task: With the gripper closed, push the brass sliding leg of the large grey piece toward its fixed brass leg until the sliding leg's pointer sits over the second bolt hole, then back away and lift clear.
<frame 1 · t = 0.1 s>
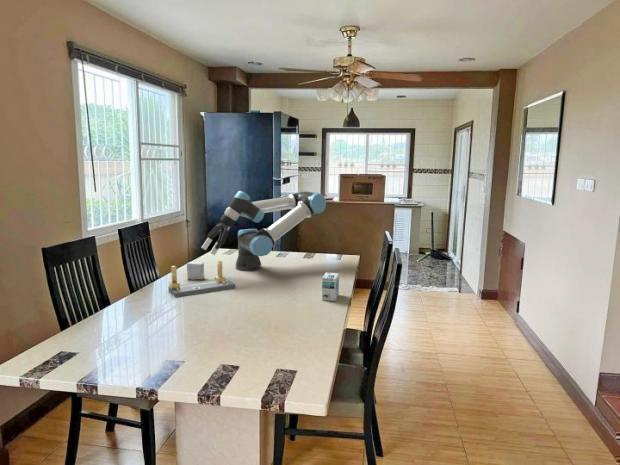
hand: (207, 251, 232), 15 cm above the table, tool tilted 35°, fingers open, 13 cm apart
light bulb box: (330, 297, 208), on the table
sliding leg: (175, 277, 210), point 8 cm above the table, slide at 9.0 cm
grey piece: (202, 289, 218), on the table
medicine box: (196, 279, 237), on the table
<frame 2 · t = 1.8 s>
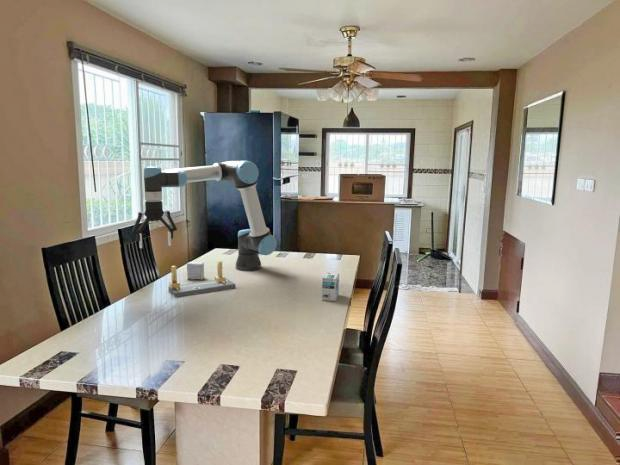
hand: (155, 246, 205), 23 cm above the table, tool pointing down, fingers open, 12 cm apart
nothing on the table moved.
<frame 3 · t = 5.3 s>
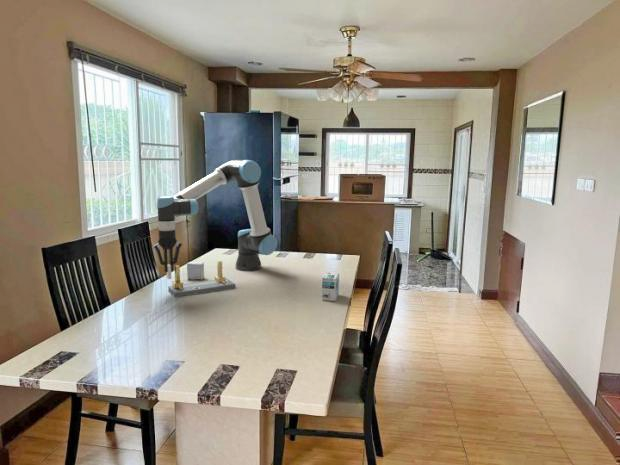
hand: (169, 278, 211), 7 cm above the table, tool pointing down, fingers closed
sliding leg: (178, 277, 211), point 8 cm above the table, slide at 7.4 cm, touching gripper
everything else where it was.
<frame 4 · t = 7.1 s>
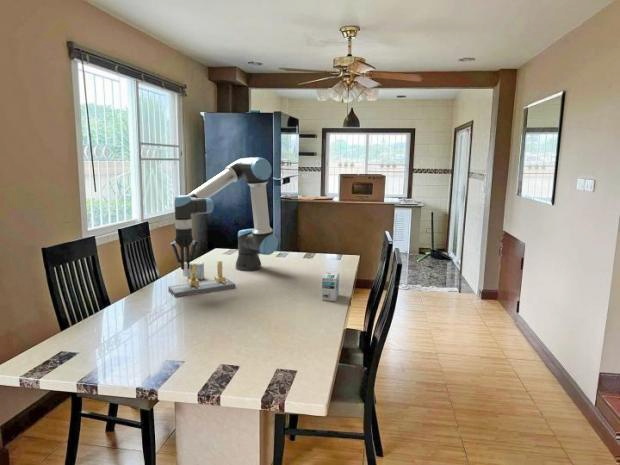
hand: (185, 275, 215), 7 cm above the table, tool pointing down, fingers closed
sliding leg: (194, 275, 215), point 8 cm above the table, slide at -0.3 cm, touching gripper
everything else where it was.
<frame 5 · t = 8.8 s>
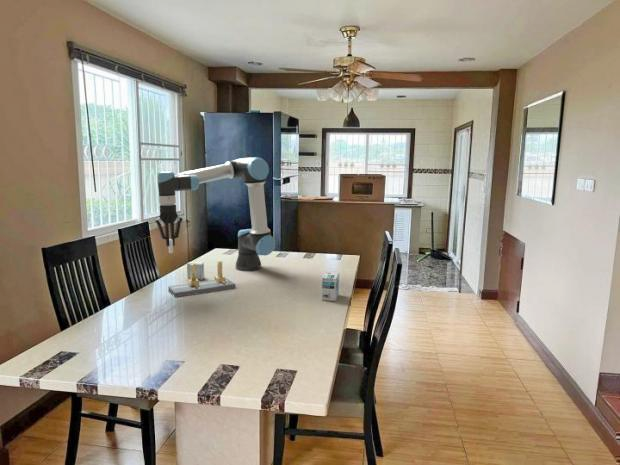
hand: (171, 252, 214), 18 cm above the table, tool pointing down, fingers closed
sliding leg: (194, 275, 215), point 8 cm above the table, slide at -0.3 cm
everything else where it was.
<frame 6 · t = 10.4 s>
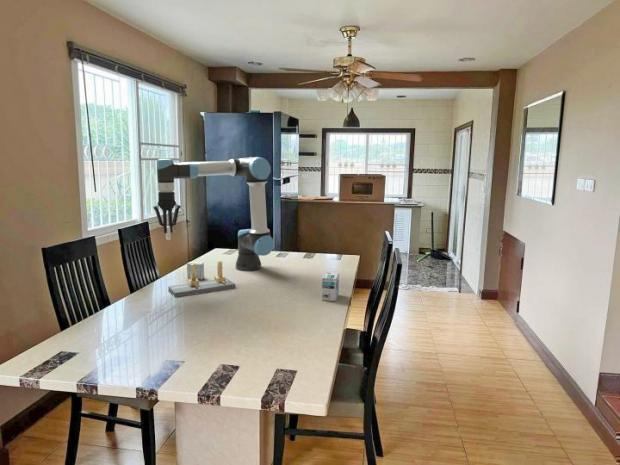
hand: (168, 239, 216), 24 cm above the table, tool pointing down, fingers closed
nothing on the table moved.
at the end: sliding leg slide at -0.3 cm; the gripper is holding nothing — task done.
